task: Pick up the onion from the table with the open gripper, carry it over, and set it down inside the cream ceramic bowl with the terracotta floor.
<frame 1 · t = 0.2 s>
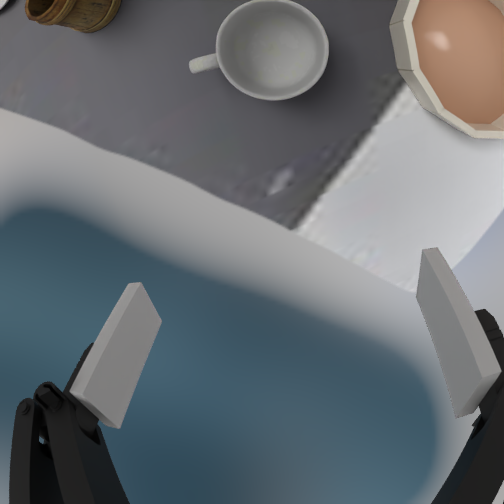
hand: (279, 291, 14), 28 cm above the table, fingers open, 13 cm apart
teacup: (261, 52, 31), on the table
bowl: (466, 51, 25), on the table
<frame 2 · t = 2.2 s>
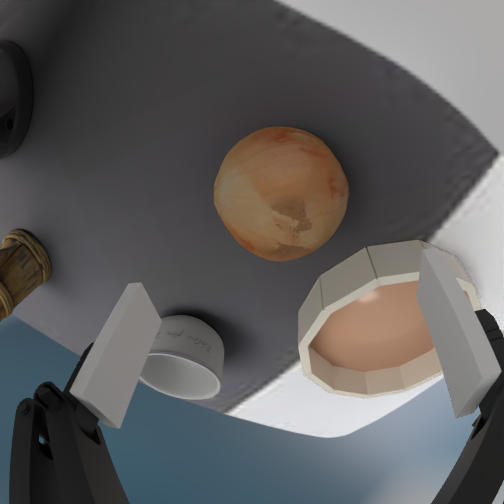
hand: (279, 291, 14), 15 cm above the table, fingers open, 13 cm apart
onion: (282, 170, 26), on the table
teacup: (179, 329, 40), on the table
wooden mug: (30, 243, 35), on the table
bowl: (387, 317, 35), on the table
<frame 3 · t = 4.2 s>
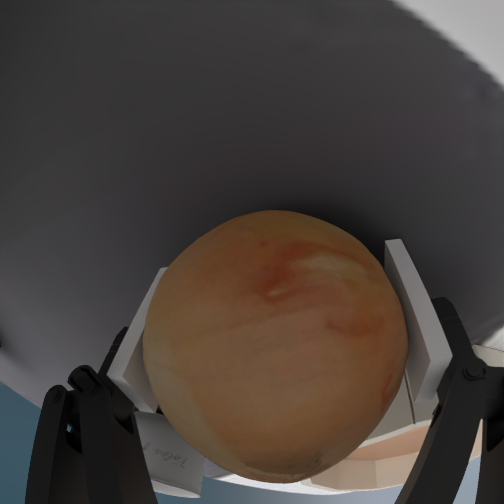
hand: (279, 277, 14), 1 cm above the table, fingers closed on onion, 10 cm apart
onion: (280, 265, 15), on the table, touching gripper
teacup: (151, 419, 29), on the table
bowl: (411, 418, 24), on the table
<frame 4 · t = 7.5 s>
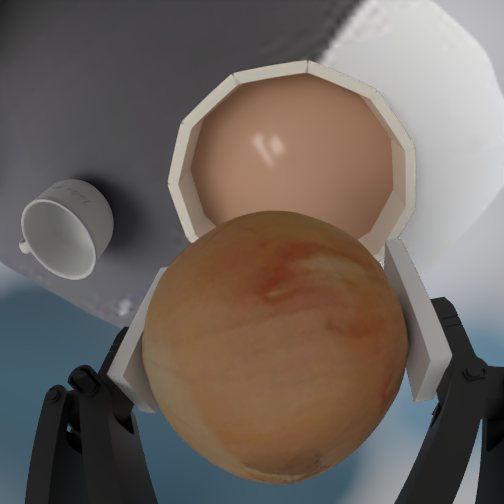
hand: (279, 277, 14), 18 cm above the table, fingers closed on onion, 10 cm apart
onion: (280, 266, 15), point 17 cm above the table, touching gripper
teacup: (80, 209, 35), on the table
bowl: (294, 173, 30), on the table
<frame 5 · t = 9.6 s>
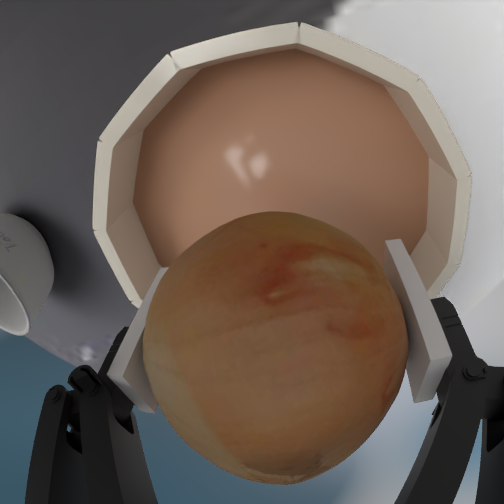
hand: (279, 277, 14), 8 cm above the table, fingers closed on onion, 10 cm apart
onion: (280, 266, 15), point 7 cm above the table, touching gripper
teacup: (21, 245, 26), on the table
bowl: (282, 206, 21), on the table
when the fingers open (4 cm above the table, at t = 11.0 s): onion drops 2 cm, resting on bowl.
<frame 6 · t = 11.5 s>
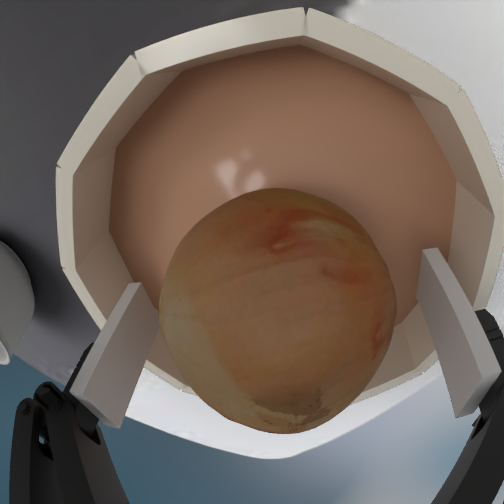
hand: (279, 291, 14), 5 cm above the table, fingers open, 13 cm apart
onion: (281, 244, 17), point 1 cm above the table, touching bowl
teacup: (2, 266, 23), on the table
bowl: (282, 236, 18), on the table
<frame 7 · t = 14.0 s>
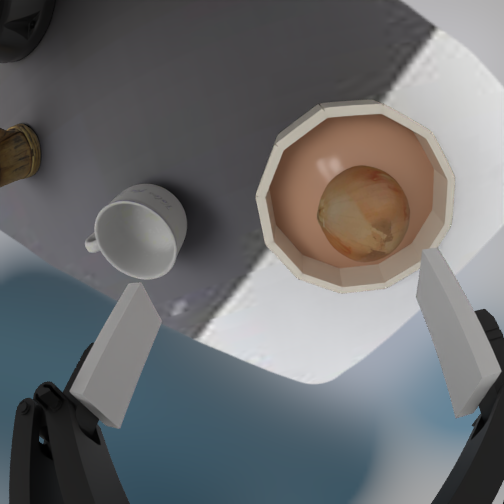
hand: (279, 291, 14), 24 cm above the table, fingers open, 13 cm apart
onion: (356, 194, 34), point 1 cm above the table, touching bowl
teacup: (148, 212, 40), on the table
wooden mug: (26, 137, 36), on the table
bowl: (355, 192, 35), on the table
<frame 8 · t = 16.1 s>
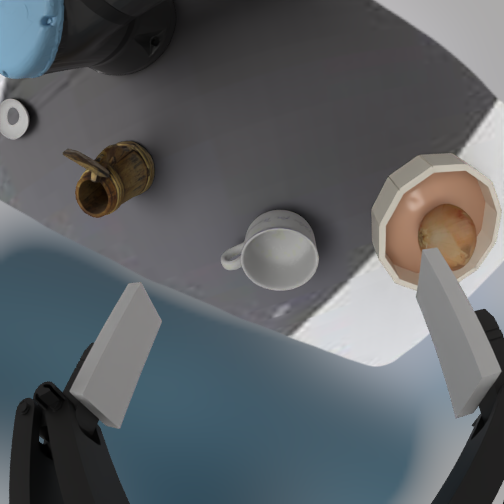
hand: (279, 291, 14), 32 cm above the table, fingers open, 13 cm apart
onion: (435, 220, 43), point 1 cm above the table, touching bowl
teacup: (271, 232, 49), on the table
wooden mug: (134, 155, 44), on the table
bowl: (433, 218, 44), on the table
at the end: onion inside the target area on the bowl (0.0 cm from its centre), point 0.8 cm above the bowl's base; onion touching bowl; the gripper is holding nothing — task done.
